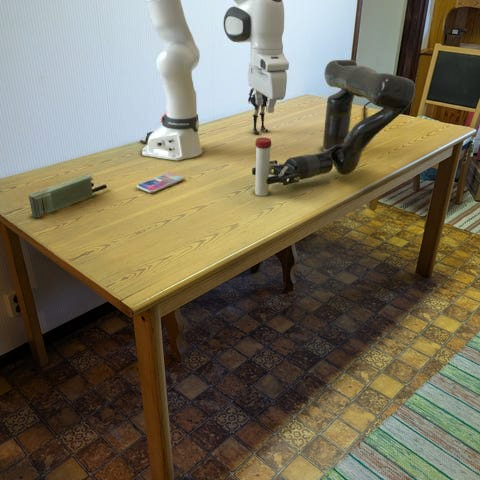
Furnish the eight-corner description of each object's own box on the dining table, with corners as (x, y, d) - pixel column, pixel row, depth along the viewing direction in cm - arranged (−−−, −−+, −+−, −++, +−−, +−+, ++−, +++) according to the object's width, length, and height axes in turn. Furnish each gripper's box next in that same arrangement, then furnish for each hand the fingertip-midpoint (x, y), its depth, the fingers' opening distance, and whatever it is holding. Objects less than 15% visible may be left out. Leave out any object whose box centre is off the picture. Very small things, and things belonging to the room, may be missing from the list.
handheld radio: (30, 215, 144) (102, 188, 161) (37, 219, 142) (109, 191, 159) (26, 193, 140) (100, 168, 157) (33, 197, 138) (107, 171, 155)
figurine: (251, 137, 208) (253, 60, 193) (241, 133, 211) (242, 58, 197) (276, 130, 216) (279, 56, 202) (266, 126, 220) (268, 54, 205)
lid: (270, 148, 149) (271, 142, 149) (255, 148, 150) (255, 141, 149) (271, 143, 153) (271, 137, 153) (256, 143, 154) (256, 137, 153)
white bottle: (267, 196, 157) (270, 143, 149) (254, 195, 158) (256, 143, 149) (268, 190, 161) (270, 139, 153) (255, 190, 161) (257, 138, 153)
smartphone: (184, 177, 167) (150, 191, 157) (184, 180, 167) (151, 194, 157) (168, 171, 171) (134, 185, 161) (168, 174, 171) (135, 188, 161)
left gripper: (243, 52, 147) (242, 100, 154) (269, 65, 130) (267, 118, 137) (263, 51, 149) (261, 99, 156) (291, 64, 132) (288, 117, 139)
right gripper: (290, 149, 166) (248, 157, 159) (317, 163, 155) (272, 172, 148) (289, 171, 170) (247, 179, 163) (315, 186, 159) (271, 196, 152)
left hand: (264, 108), depth 146 cm, fingers open, 7 cm apart
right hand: (259, 176), depth 156 cm, fingers open, 8 cm apart
